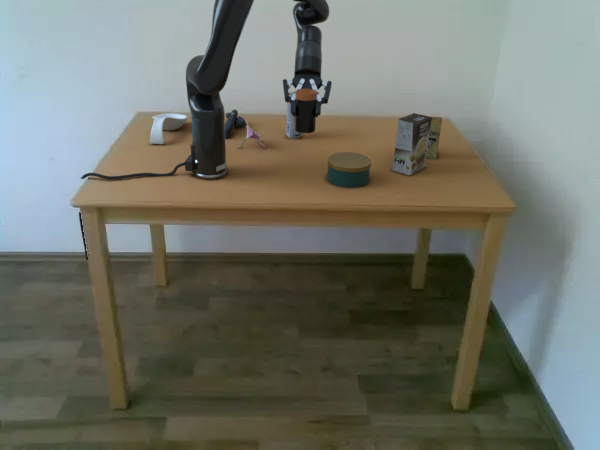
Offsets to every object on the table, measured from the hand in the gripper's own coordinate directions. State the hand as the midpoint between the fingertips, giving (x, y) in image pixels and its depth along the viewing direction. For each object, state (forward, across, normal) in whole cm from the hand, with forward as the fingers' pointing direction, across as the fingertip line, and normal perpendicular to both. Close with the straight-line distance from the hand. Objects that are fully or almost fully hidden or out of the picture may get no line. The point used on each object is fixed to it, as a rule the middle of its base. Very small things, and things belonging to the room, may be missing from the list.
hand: (305, 115), depth 161 cm
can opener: (-14, -27, +41) cm, 51 cm away
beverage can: (-11, -5, +38) cm, 40 cm away
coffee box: (+6, +32, +21) cm, 38 cm away
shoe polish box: (-3, +40, +30) cm, 50 cm away
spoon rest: (-10, -48, +37) cm, 62 cm away
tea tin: (+2, 0, +5) cm, 5 cm away
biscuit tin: (+13, +13, +14) cm, 23 cm away
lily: (-3, -18, +30) cm, 35 cm away
